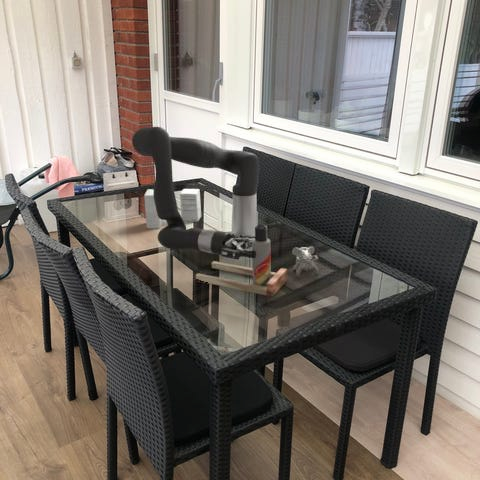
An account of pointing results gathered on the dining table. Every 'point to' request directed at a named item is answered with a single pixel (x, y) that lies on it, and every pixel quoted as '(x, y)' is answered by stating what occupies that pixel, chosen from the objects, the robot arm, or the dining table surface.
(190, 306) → the dining table surface
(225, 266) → the guide lane
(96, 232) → the dining table surface
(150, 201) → the skincare box
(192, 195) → the supplement box
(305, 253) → the elephant statuette
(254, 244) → the lotion bottle
